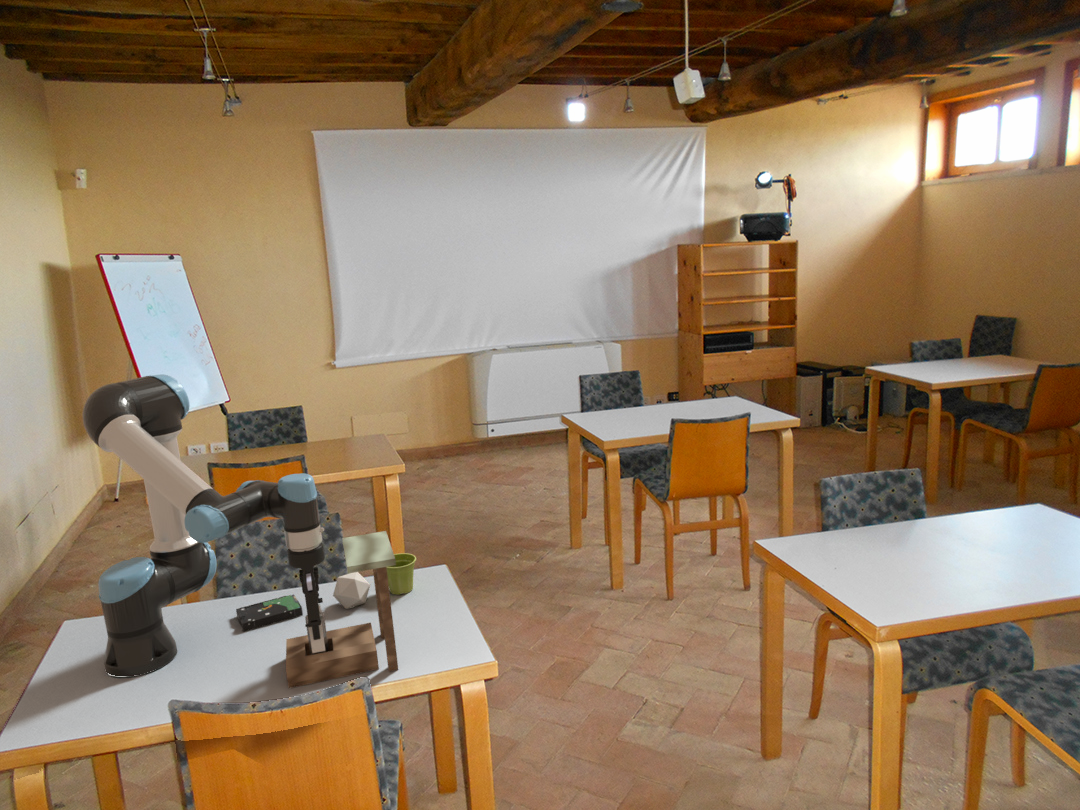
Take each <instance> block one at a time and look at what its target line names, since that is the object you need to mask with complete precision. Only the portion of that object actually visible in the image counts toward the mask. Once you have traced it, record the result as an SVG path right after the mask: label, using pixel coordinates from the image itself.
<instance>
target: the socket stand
mask: <svg viewBox="0 0 1080 810" xmlns="http://www.w3.org/2000/svg"><path fill="white" fill-rule="evenodd" d="M341 540H342V545H343V546H342V547H343V553H344V557H345V564H346V565H345V566H346V571H347V574H349V573H354V572H358V573H359V572H365V571H369V570H372V573H373V581H374V589H375V590H374V591H375V598H376V607H377V608H376V609H377V614H378V615H377V616H378V622H379V632H380V633H379V634H380V638H381V639H384V643H385V652H386V659H387V667H388V671H390V672H393V671H398V670H399V663H398V656H397V655H398V654H397V653H398V652H397V646H396V637H395V636H396V635H395V630H394V629H395V628H394V620H393V619H394V618H393V613H392V612H393V611H392V604H391V602H392V601H391V592H390V589H389V584H388V576H387V567H388V566H393V565H396V561H395V556H394V554H395V553H394V551H393V548H392V544H391V542H390V541H391V540H390V539H389V536H388V533H387V530H383V531H378V532H371V533H366V534H359V535H353V536H347V537H342V538H341ZM326 633H327V640H328V647H329V651H328V652H324V653H319V654H314V655H310V648H309V641H308V634H306V635H302V636H295V637H290V638H286V644H285V645H286V647H285V648H286V649H285V651H286V653H285V673H286V678H287V679H286V680H287V686H288V689H293V688H296V687H297V688H298V687H303V686H306V685H307V686H308V685H310V684H316V683H320V682H321V683H322V682H326V681H331V680H336V679H340V678H344V677H348V676H353V675H357V674H363V673H367V672H372V671H376V670H379V669H380V666H379V661H378V660H379V657H378V650H377V646H376V645H377V644H376V640H375V636H374V631H373V627H372V622H367V623H361V624H356V625H352V626H346V627H342V628H337V629H332V630H326Z"/></svg>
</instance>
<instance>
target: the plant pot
mask: <svg viewBox="0 0 1080 810" xmlns="http://www.w3.org/2000/svg"><path fill="white" fill-rule="evenodd" d="M394 556H395V561H396V565H393V566H388V567H387V576H388V584H389V593H390V594H392V595H397V596H399V595H402V594H408V593H410V592H411V591H413V588H414V569H415V565H416V564H415V563H416V561H417V557H416V555H414V554H412V553H408V552H407V553H406V552H405V553H404V552H403V553H394Z"/></svg>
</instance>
